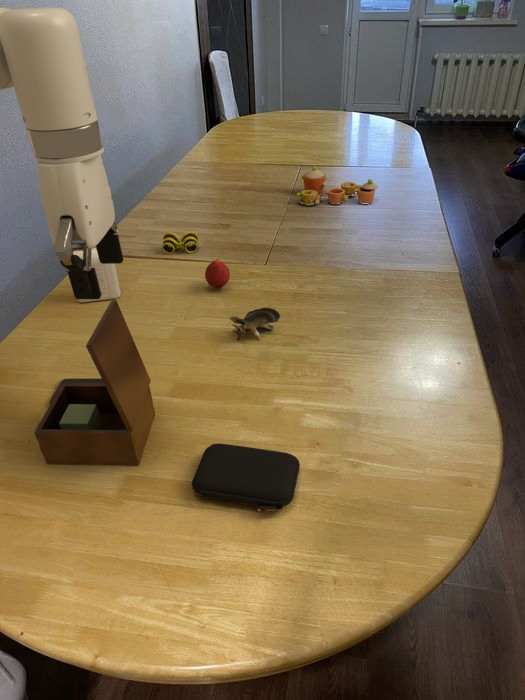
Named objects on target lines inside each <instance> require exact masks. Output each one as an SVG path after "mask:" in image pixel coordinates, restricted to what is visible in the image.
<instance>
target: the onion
mask: <svg viewBox="0 0 525 700" xmlns="http://www.w3.org/2000/svg"><path fill="white" fill-rule="evenodd" d="M230 275H231V274H230V269H229V267H228V266H227V265H226V264H225V263H224V262H222V261H220V258H219V257H215V258H214V259H213V261H212V262H211V263H209V264H208V265H207V266H206V269H205V273H204V278H205V281H206V283H207V284H208V286H210V287H212V288H214V289H217V290H220V289H222V288H223V287H224V286H226V285H227V283H228V282H229V281H230V278H231V276H230Z"/></svg>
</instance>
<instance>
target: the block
mask: <svg viewBox="0 0 525 700" xmlns="http://www.w3.org/2000/svg"><path fill="white" fill-rule="evenodd" d="M59 425H60V427H61V429H65V430H100V429H101V426H102V422H101V419H100V415H99V412H98V408H97V405H96V404H69V406H68V407H67V409H66V411H65V413H64V415H63V417H62V419H61V421H60V423H59Z"/></svg>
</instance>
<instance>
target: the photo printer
mask: <svg viewBox="0 0 525 700" xmlns="http://www.w3.org/2000/svg"><path fill="white" fill-rule="evenodd" d="M73 254H74V255H78V256H79V257H80V258H81V259H82V260H83V251H73ZM92 267H95V271H96V274H97V278H98V282H99V286H100V290H101V294H102V295H101V297H100V299H76V302H78V303H89V302H98V301H106V300H107V301H108V300H116V299H118V298H120V297H121V296H122V292H121V288H120V283H119V278H118V273H117V267H116V264H102V263H100V261H99V257H98V253H97V249H96V247H94V248H92V252H91V268H92Z"/></svg>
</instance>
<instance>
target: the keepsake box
mask: <svg viewBox="0 0 525 700" xmlns="http://www.w3.org/2000/svg"><path fill="white" fill-rule="evenodd" d="M69 404H96V405H97V408H98V412H99V415H100V419H101V422H102V426H101V429H100V430H65V429H61V427H60V425H59V423H60V421H61V419H62V417H63V415H64V413H65V411H66V409H67V407H68V406H69ZM48 405H49V406H48V407H47V409H46V410H45V413H44V414H43V416H42V418H41V419H40V421H39V423H38V424H37V427H36V428H35V430H34V432H33V434H34V437H35V439H36V442H37V444H38V446H39V449H40V452H41V454H42V456H43V459H44V461H45V465H65V466H66V465H73V466H75V465H77V466H82V465H83V466H134V467H135V466H137V467H139V466H140V464H141V461H142V457H143V454H144V452H145V448H146V445H147V443H148V439H149V436H150V432H151V429H152V427H153V423H154V420H155V417H156V410H155V405H154V401H153V397H152V392H151V387H150V385H149V387H148V390H147V393H146V396H145V399H144V401H143V404H142V407H141V410H140V413H139V415H138V418H137V421H136V424H135V427H134V429H133V431H129V432H128V431H127V429H126V426H125V424H124V422H123V420H122V418H121V416H120V414H119V412H118V410H117V408H116V406H115V404H114V402H113V400H112V398H111V396H110V394H109V392H108V390H107V388H106V386H105V384H104V383H62V385H61V386H60V388H59V390H58V391H57V393H56V395H55V397H54V398H53V400H52V402H51V404H48Z"/></svg>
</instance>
